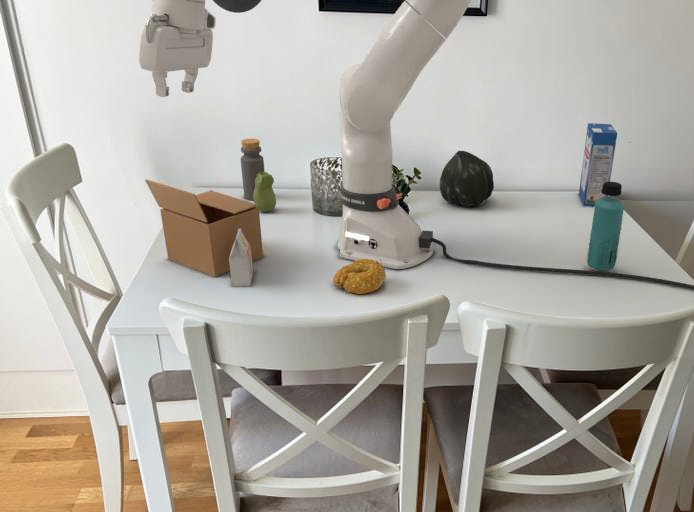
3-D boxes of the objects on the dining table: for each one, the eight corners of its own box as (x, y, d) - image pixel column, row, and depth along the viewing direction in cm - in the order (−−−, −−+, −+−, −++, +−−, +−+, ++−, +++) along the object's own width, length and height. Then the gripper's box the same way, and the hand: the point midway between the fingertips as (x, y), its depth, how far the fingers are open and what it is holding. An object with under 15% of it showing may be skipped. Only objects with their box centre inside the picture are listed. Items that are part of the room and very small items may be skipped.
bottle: (261, 201, 197) (256, 144, 190) (240, 199, 198) (234, 142, 191) (270, 194, 202) (265, 138, 195) (249, 192, 203) (244, 136, 196)
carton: (263, 256, 166) (258, 204, 160) (215, 277, 156) (207, 222, 150) (217, 241, 173) (210, 190, 167) (168, 259, 163) (159, 206, 157)
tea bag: (232, 286, 153) (226, 240, 148) (235, 272, 158) (230, 227, 153) (250, 285, 153) (245, 239, 148) (253, 272, 159) (248, 227, 154)
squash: (507, 178, 205) (474, 134, 201) (498, 197, 193) (462, 150, 188) (468, 207, 212) (435, 164, 208) (457, 226, 200) (421, 182, 195)
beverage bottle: (608, 279, 163) (622, 190, 153) (580, 272, 166) (592, 183, 156) (618, 269, 168) (633, 182, 158) (591, 262, 171) (604, 176, 160)
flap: (194, 194, 145) (193, 194, 145) (208, 221, 150) (207, 222, 150) (145, 178, 152) (144, 179, 152) (160, 206, 157) (159, 206, 156)
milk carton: (606, 207, 205) (617, 133, 194) (583, 206, 205) (593, 132, 194) (600, 195, 213) (610, 124, 203) (578, 194, 213) (588, 123, 203)
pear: (267, 206, 195) (264, 168, 190) (281, 210, 192) (278, 172, 187) (250, 211, 191) (246, 172, 186) (265, 216, 188) (261, 177, 183)
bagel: (336, 274, 160) (336, 253, 157) (388, 277, 160) (388, 256, 157) (329, 294, 151) (328, 272, 149) (383, 297, 151) (383, 275, 149)
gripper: (165, 18, 125) (162, 103, 131) (220, 18, 143) (215, 93, 149) (130, 9, 125) (128, 94, 131) (189, 11, 144) (185, 86, 150)
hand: (175, 94), depth 140 cm, fingers open, 8 cm apart
